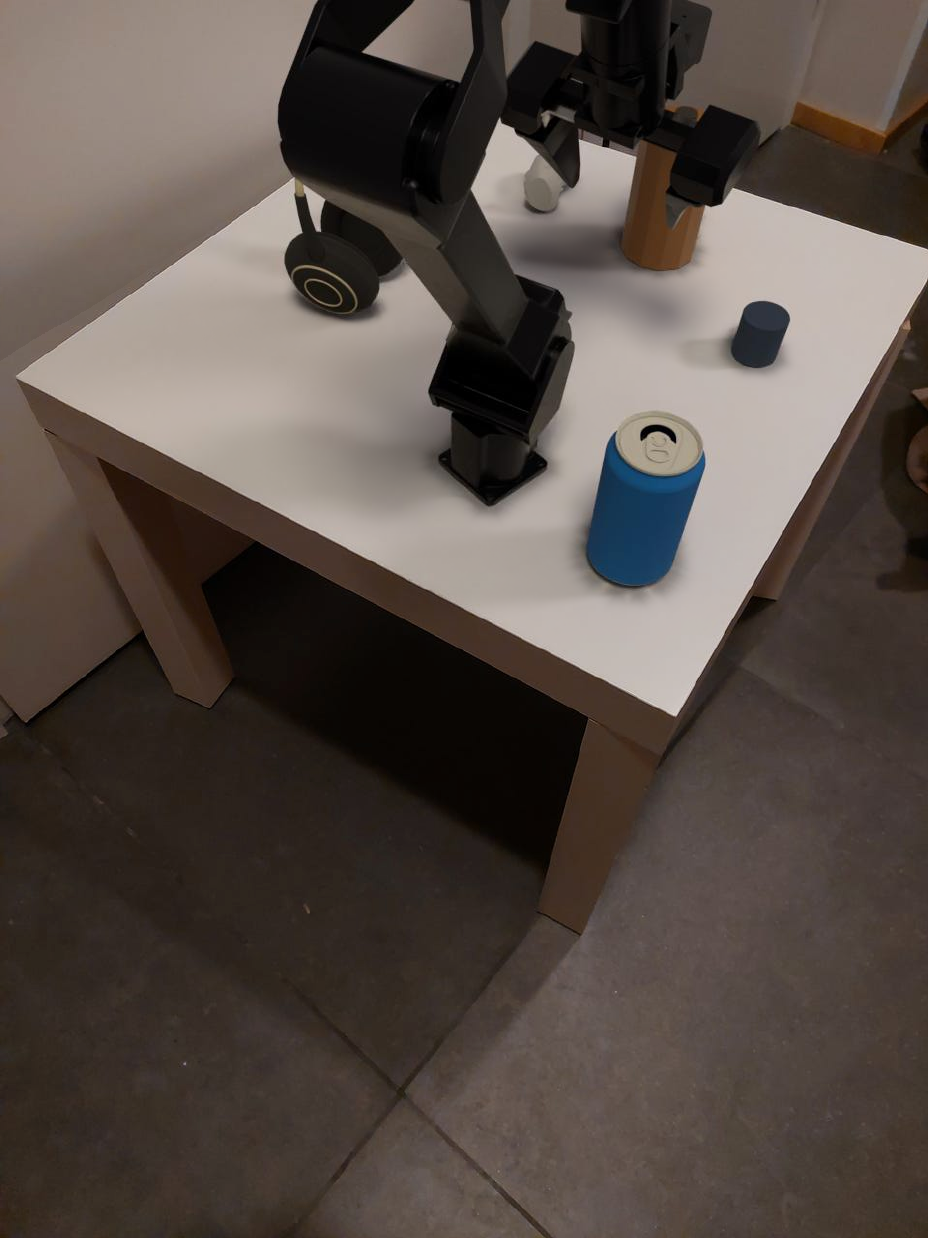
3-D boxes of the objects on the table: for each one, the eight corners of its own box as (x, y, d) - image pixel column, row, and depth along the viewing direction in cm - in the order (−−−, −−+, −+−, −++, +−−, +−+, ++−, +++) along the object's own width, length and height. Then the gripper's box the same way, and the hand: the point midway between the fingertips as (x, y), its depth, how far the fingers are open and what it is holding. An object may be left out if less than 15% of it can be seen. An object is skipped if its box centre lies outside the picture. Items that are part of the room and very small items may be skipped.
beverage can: (670, 527, 69) (707, 409, 59) (673, 595, 66) (713, 483, 56) (586, 520, 69) (609, 402, 59) (584, 587, 66) (608, 474, 56)
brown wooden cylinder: (660, 279, 86) (691, 141, 75) (607, 245, 89) (629, 108, 78) (707, 250, 89) (744, 114, 78) (654, 219, 92) (682, 82, 81)
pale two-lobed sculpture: (542, 181, 97) (586, 178, 95) (512, 218, 93) (557, 216, 91) (534, 139, 94) (579, 136, 92) (502, 175, 90) (549, 173, 88)
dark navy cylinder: (757, 374, 79) (770, 336, 76) (721, 350, 81) (733, 313, 77) (785, 354, 81) (799, 316, 77) (750, 331, 82) (762, 294, 79)
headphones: (424, 256, 88) (418, 30, 71) (362, 350, 80) (340, 121, 63) (344, 237, 89) (320, 11, 73) (275, 327, 82) (231, 98, 65)
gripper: (820, -17, 57) (778, 169, 72) (566, -96, 62) (576, 92, 77) (732, 114, 55) (707, 277, 70) (479, 21, 60) (506, 191, 75)
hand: (623, 203), depth 73 cm, fingers open, 9 cm apart
